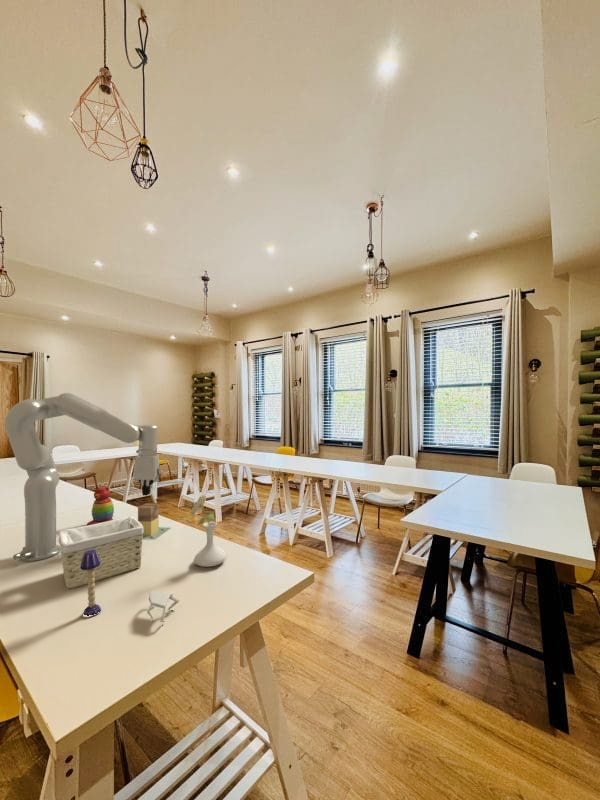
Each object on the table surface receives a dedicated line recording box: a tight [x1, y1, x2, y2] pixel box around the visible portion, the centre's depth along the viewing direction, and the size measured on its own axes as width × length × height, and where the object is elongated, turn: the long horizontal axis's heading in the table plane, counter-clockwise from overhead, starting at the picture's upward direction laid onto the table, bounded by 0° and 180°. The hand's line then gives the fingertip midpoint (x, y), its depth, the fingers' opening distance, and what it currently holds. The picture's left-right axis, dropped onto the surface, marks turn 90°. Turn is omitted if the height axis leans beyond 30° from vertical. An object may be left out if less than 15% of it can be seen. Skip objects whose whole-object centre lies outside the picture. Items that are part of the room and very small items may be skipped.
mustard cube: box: [139, 516, 160, 536], centre depth 149 cm, size 6×6×6 cm
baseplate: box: [142, 526, 172, 541], centre depth 149 cm, size 14×14×1 cm
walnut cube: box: [137, 503, 159, 522], centre depth 149 cm, size 6×6×6 cm
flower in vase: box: [190, 494, 227, 568], centre depth 121 cm, size 13×11×25 cm
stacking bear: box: [86, 486, 115, 526], centre depth 164 cm, size 11×10×18 cm
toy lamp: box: [80, 550, 102, 616], centre depth 92 cm, size 5×5×17 cm
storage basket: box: [58, 516, 144, 589], centre depth 116 cm, size 24×16×15 cm
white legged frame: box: [146, 590, 180, 623], centre depth 91 cm, size 12×8×5 cm
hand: (146, 494), depth 148 cm, fingers closed
